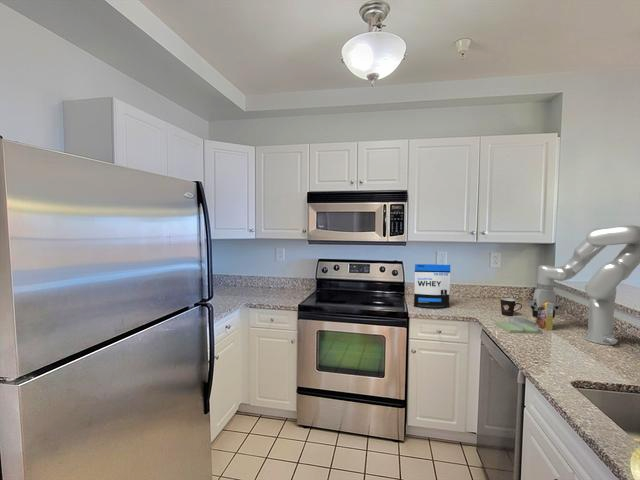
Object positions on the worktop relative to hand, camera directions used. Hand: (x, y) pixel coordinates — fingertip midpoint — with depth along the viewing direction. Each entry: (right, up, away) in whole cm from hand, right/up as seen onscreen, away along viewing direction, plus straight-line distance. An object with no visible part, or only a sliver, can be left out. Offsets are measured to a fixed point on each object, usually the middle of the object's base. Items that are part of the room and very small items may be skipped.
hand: (543, 317), depth 187 cm
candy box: (0, -6, 0) cm, 6 cm away
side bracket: (-14, -5, -4) cm, 15 cm away
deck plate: (-16, -6, -2) cm, 17 cm away
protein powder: (-49, -3, +43) cm, 65 cm away
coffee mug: (-5, -5, +25) cm, 26 cm away
